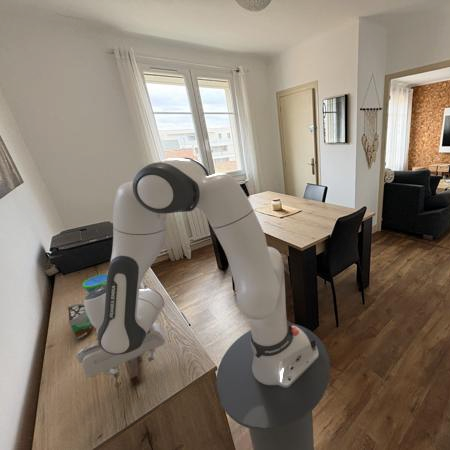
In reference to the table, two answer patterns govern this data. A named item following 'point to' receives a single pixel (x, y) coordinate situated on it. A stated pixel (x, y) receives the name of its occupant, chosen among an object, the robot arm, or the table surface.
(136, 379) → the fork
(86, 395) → the table surface
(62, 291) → the table surface
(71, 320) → the food container
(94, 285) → the snack cup
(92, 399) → the table surface
